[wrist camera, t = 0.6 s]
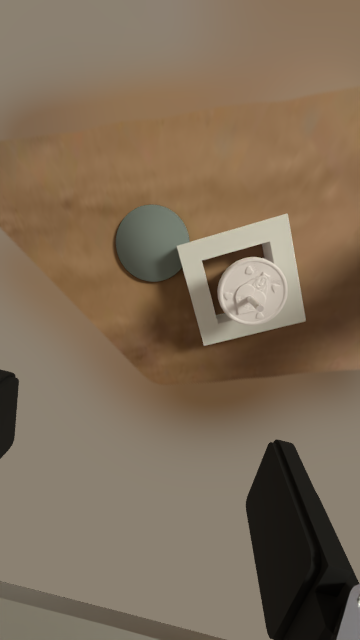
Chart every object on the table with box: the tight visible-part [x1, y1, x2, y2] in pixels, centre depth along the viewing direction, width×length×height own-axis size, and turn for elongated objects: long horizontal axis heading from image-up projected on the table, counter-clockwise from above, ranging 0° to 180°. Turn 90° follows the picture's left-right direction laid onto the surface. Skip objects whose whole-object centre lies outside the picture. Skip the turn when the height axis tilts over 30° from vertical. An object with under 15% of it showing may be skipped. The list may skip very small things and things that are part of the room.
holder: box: [177, 214, 306, 346], centre depth 32 cm, size 12×12×4 cm
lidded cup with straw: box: [217, 257, 288, 326], centre depth 28 cm, size 6×6×14 cm
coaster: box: [116, 205, 189, 282], centre depth 34 cm, size 9×9×1 cm
